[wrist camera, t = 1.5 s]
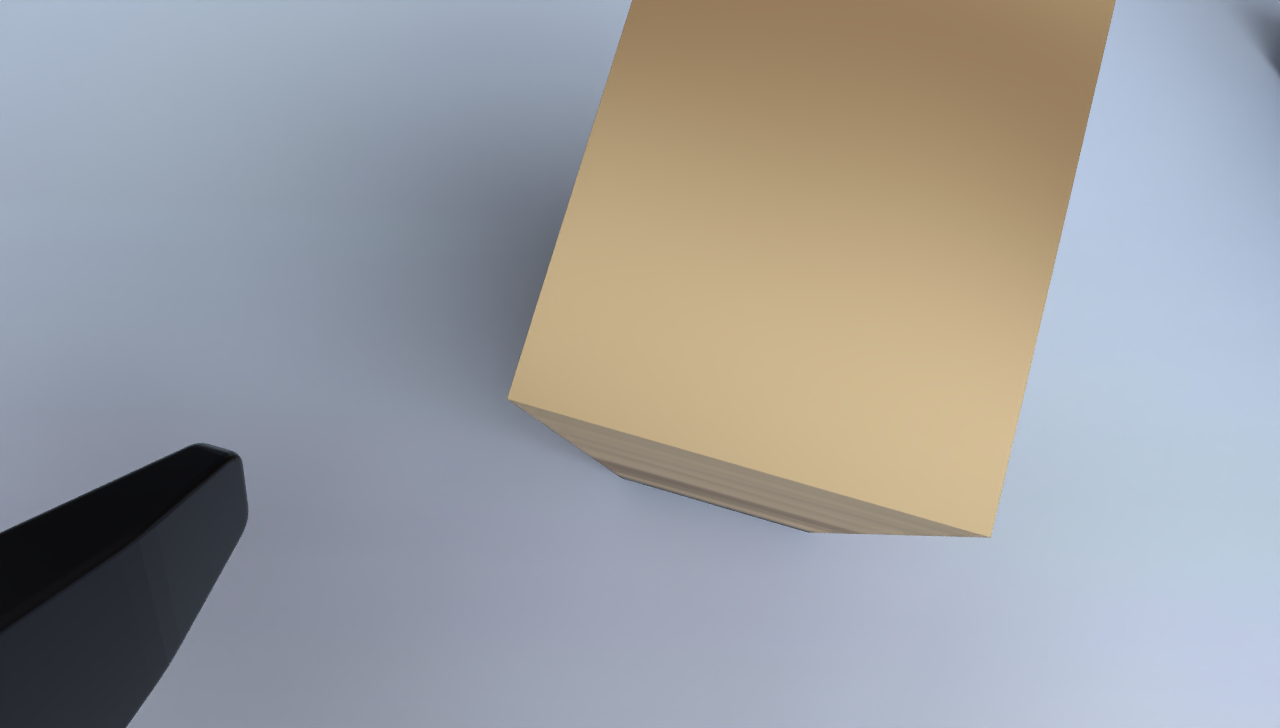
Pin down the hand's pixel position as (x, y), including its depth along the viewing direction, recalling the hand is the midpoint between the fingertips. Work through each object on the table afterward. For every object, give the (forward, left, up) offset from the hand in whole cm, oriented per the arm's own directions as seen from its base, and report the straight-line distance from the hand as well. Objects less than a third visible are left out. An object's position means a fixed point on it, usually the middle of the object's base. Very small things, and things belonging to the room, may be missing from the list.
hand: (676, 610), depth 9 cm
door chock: (+4, -1, -11) cm, 12 cm away
